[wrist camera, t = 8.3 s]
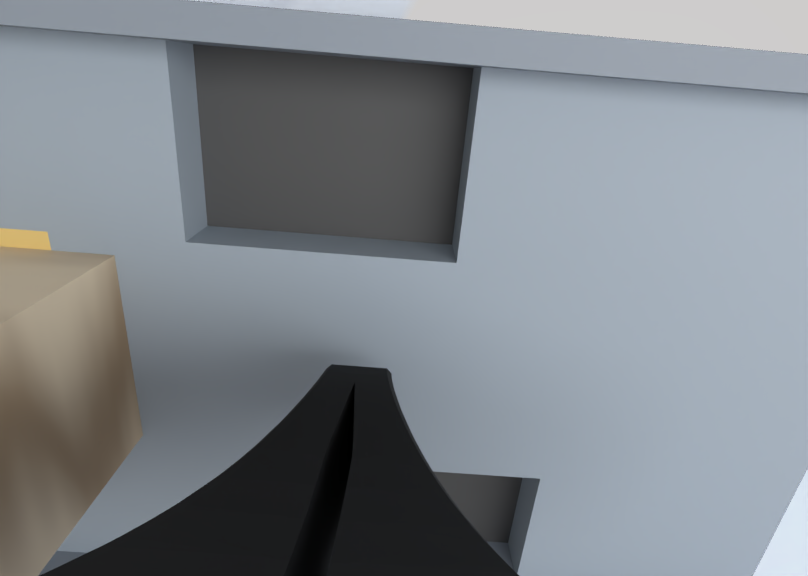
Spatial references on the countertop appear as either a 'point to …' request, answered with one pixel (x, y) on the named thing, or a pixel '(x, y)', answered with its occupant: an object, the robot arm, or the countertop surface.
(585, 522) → the trap lane
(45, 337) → the beech block
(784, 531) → the countertop surface
